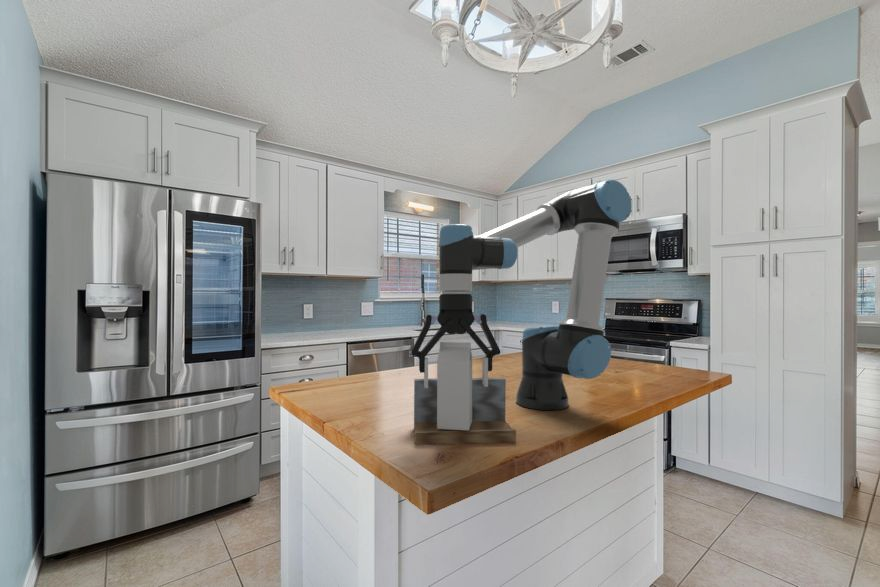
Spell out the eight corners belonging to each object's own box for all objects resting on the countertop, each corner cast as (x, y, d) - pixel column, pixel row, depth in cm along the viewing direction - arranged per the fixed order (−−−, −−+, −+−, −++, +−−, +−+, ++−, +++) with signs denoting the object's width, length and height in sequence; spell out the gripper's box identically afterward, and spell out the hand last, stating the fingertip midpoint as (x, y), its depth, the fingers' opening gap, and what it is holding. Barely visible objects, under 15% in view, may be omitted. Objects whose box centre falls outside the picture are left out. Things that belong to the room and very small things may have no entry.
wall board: (503, 426, 101) (503, 377, 101) (515, 442, 90) (516, 387, 90) (413, 428, 99) (414, 378, 99) (415, 445, 88) (416, 389, 88)
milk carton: (469, 431, 89) (469, 343, 90) (436, 429, 91) (437, 343, 91) (472, 422, 96) (472, 341, 97) (442, 421, 98) (442, 340, 98)
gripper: (505, 293, 99) (505, 381, 99) (400, 293, 96) (400, 383, 96) (513, 293, 91) (513, 388, 91) (401, 293, 89) (401, 391, 89)
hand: (455, 386), depth 94 cm, fingers open, 13 cm apart
